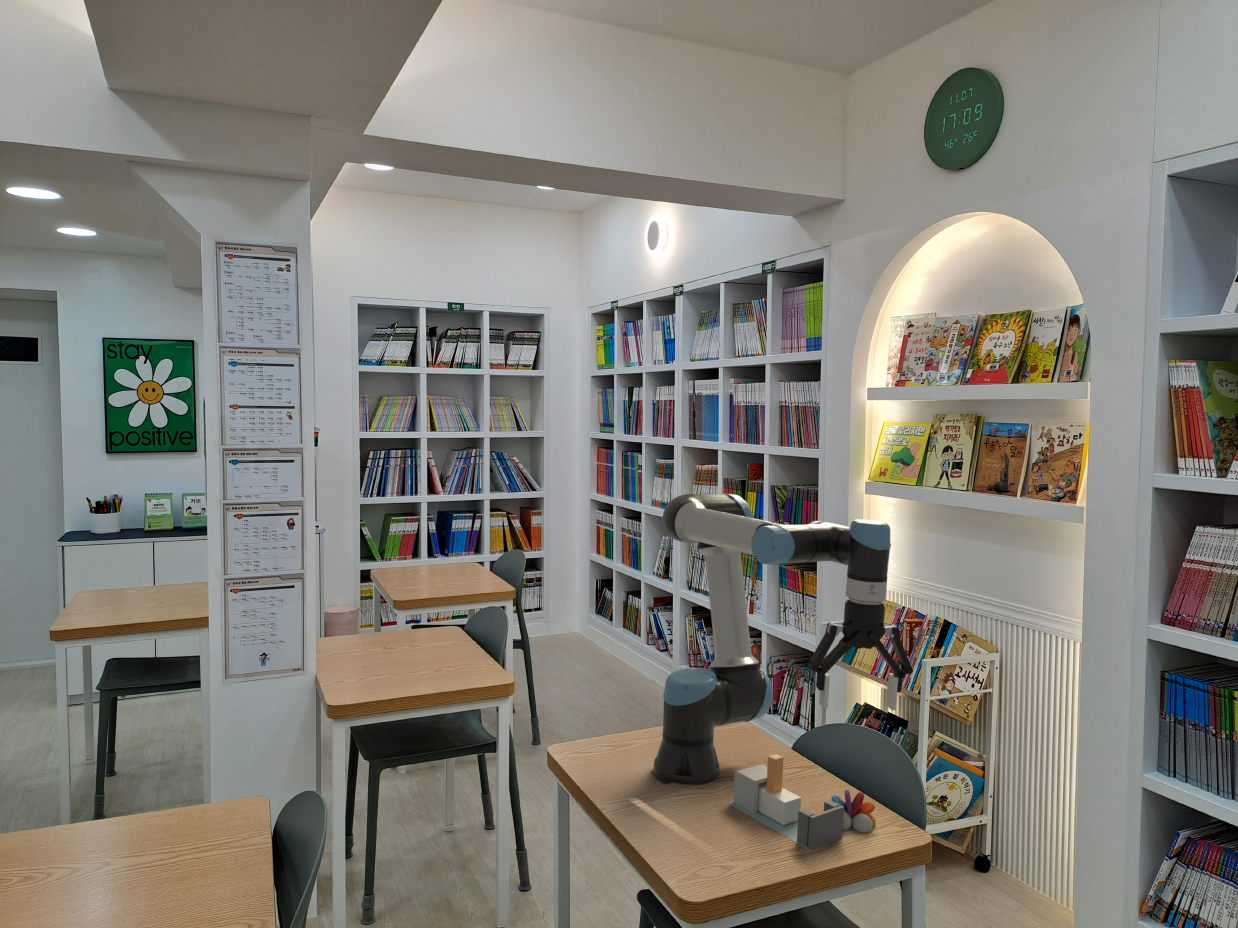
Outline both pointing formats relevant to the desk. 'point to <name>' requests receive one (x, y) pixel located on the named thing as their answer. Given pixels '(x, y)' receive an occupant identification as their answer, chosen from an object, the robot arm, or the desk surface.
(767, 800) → the block with wooden peg
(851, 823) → the rainbow disc toy
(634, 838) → the desk surface
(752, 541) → the robot arm
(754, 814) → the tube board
